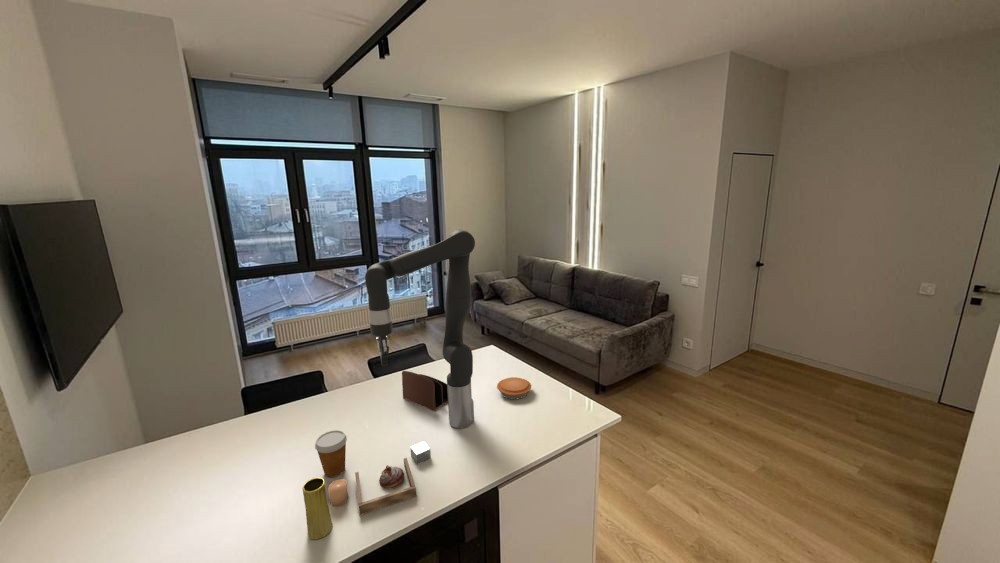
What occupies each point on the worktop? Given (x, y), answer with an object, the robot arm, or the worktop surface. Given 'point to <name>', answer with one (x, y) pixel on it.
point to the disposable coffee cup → (332, 452)
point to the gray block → (420, 452)
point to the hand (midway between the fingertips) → (385, 365)
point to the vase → (317, 508)
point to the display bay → (389, 498)
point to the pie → (514, 387)
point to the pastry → (391, 477)
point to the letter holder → (424, 390)
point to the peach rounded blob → (338, 492)
